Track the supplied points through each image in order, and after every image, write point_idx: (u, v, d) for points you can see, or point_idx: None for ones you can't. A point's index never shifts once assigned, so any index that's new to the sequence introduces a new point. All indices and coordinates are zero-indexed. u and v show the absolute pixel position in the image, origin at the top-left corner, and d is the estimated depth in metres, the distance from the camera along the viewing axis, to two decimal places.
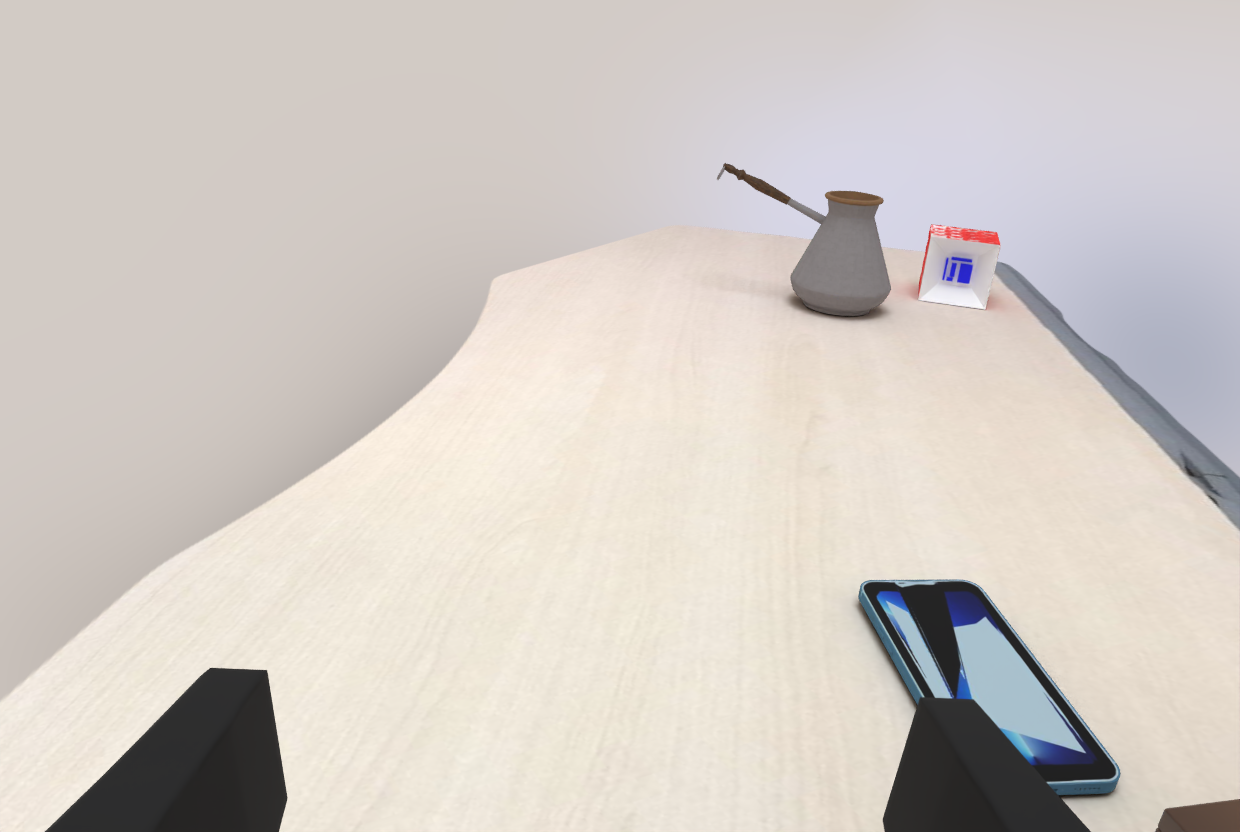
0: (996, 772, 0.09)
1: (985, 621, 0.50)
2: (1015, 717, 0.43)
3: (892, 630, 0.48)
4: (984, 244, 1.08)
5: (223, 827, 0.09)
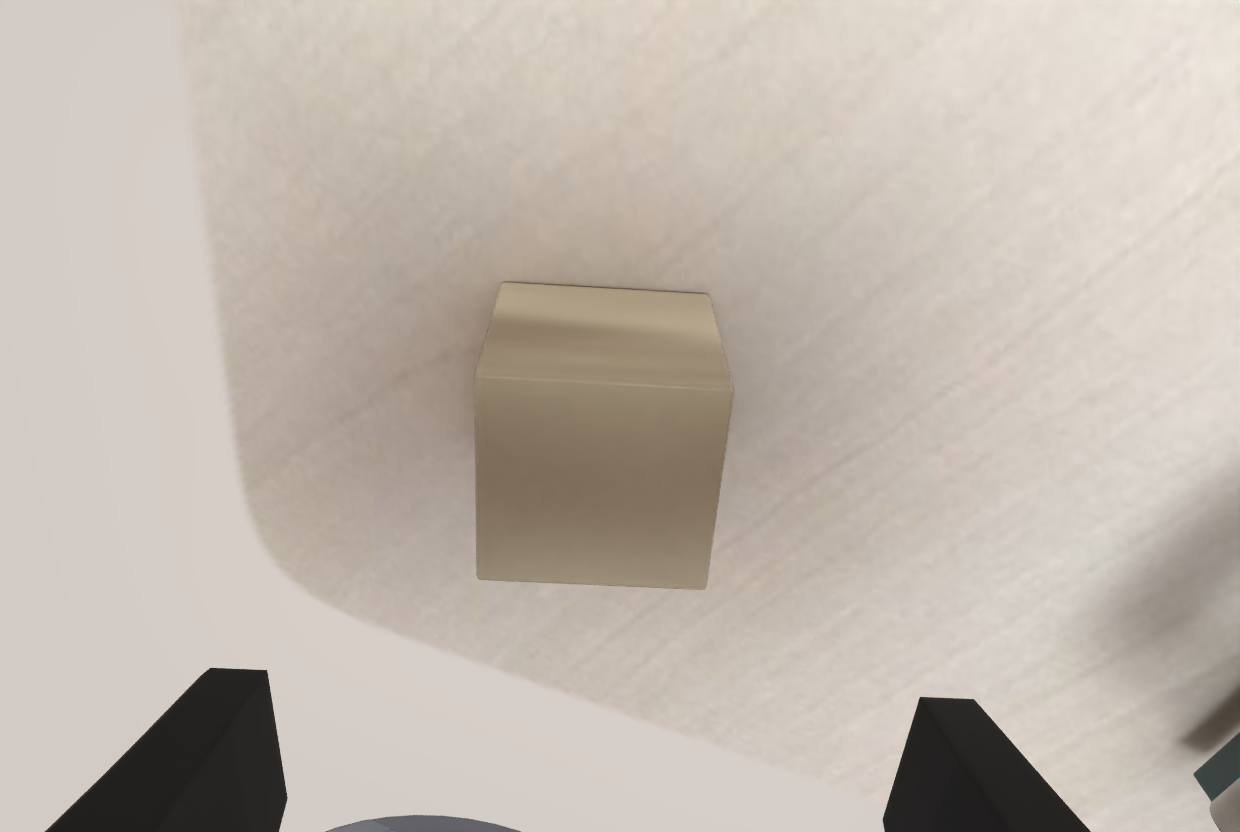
0: (996, 772, 0.09)
1: None
2: None
3: None
4: None
5: (224, 828, 0.09)
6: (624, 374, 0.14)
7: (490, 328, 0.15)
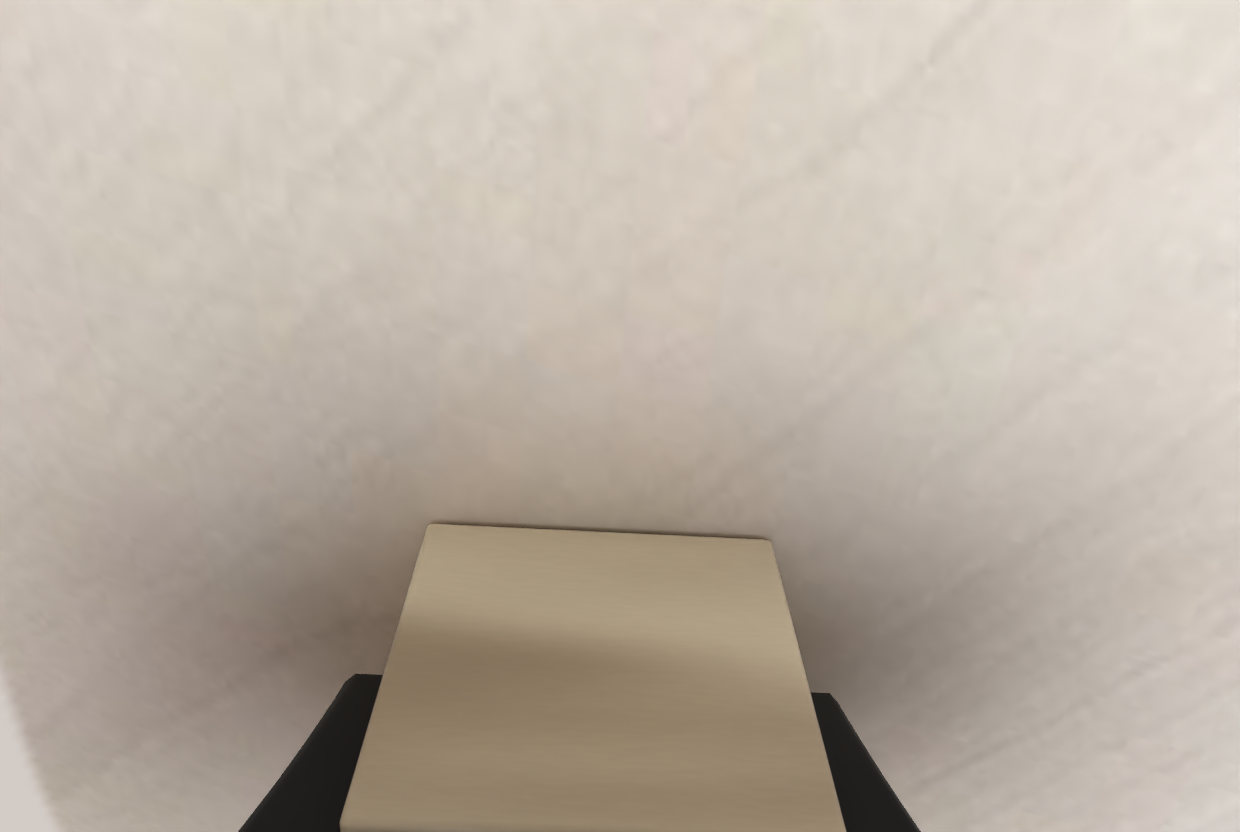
0: (831, 765, 0.09)
1: None
2: None
3: None
4: None
5: None
6: (635, 806, 0.07)
7: (391, 663, 0.09)
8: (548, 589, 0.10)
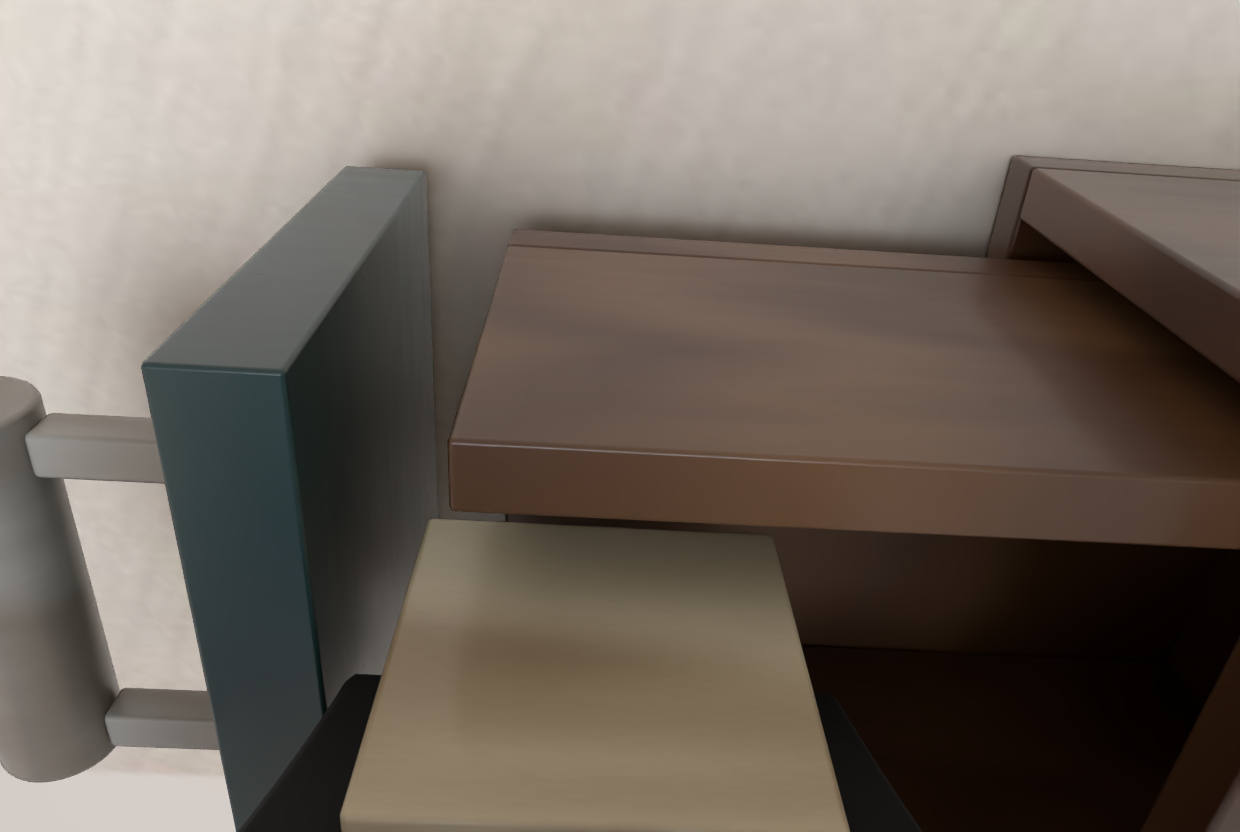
0: (833, 766, 0.09)
1: None
2: None
3: None
4: None
5: None
6: (636, 799, 0.07)
7: (391, 656, 0.09)
8: (549, 583, 0.10)
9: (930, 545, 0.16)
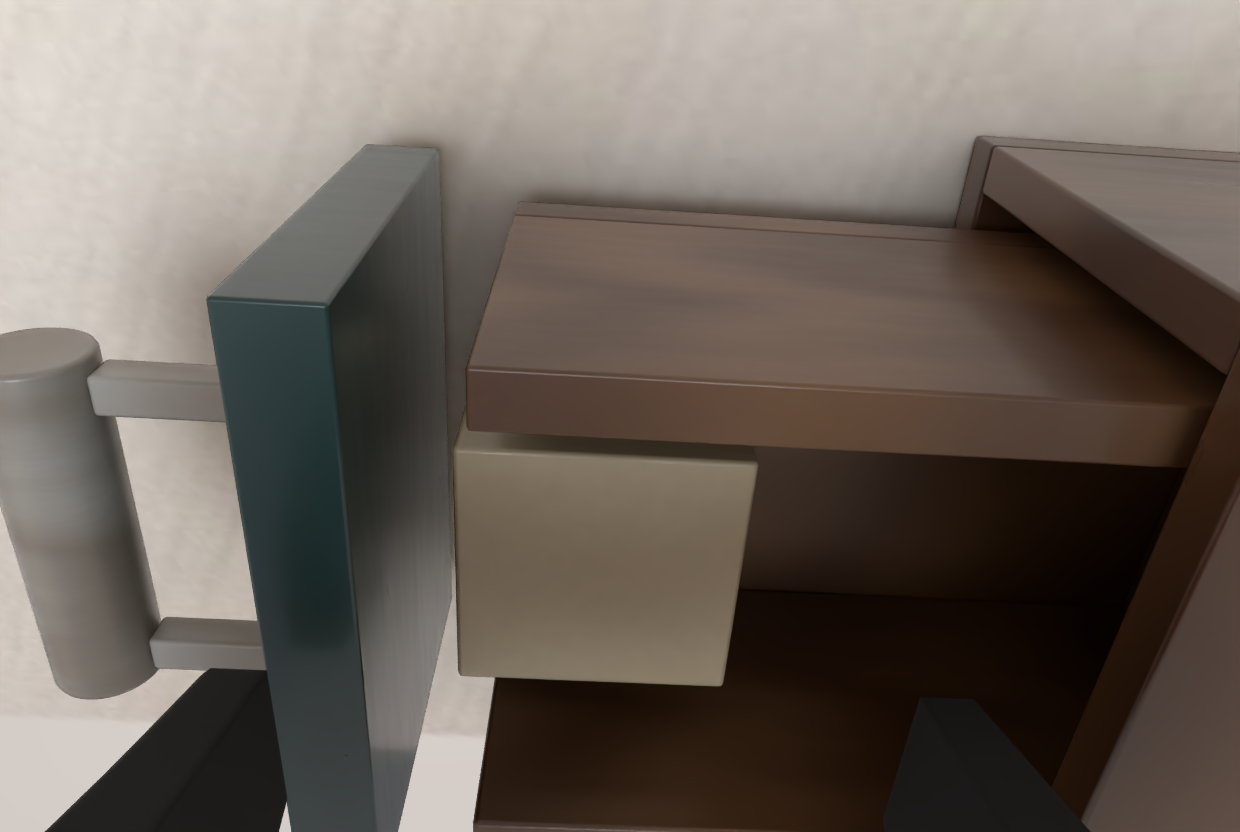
0: (996, 772, 0.09)
1: None
2: None
3: None
4: None
5: (223, 827, 0.09)
6: (629, 447, 0.12)
7: None
8: None
9: (902, 496, 0.17)
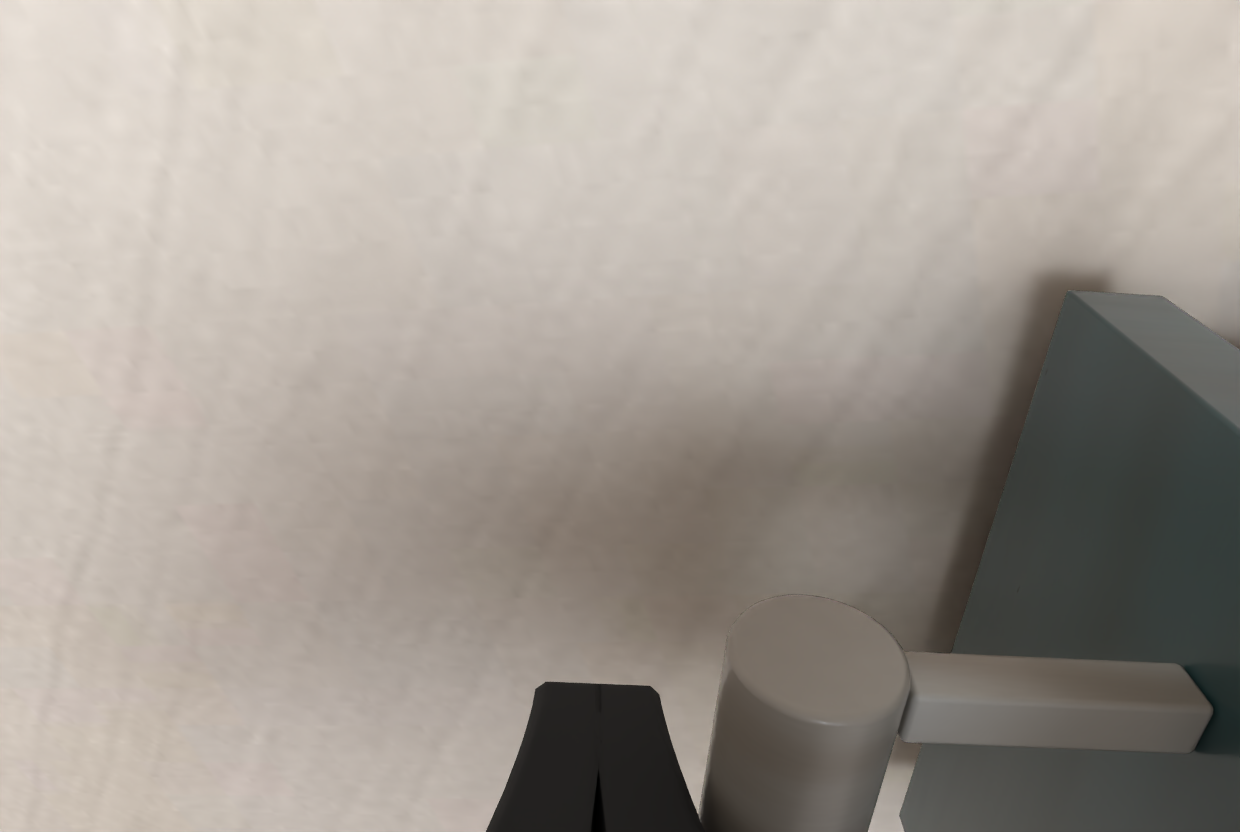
0: (625, 758, 0.09)
1: None
2: None
3: None
4: None
5: None
6: None
7: None
8: None
9: None
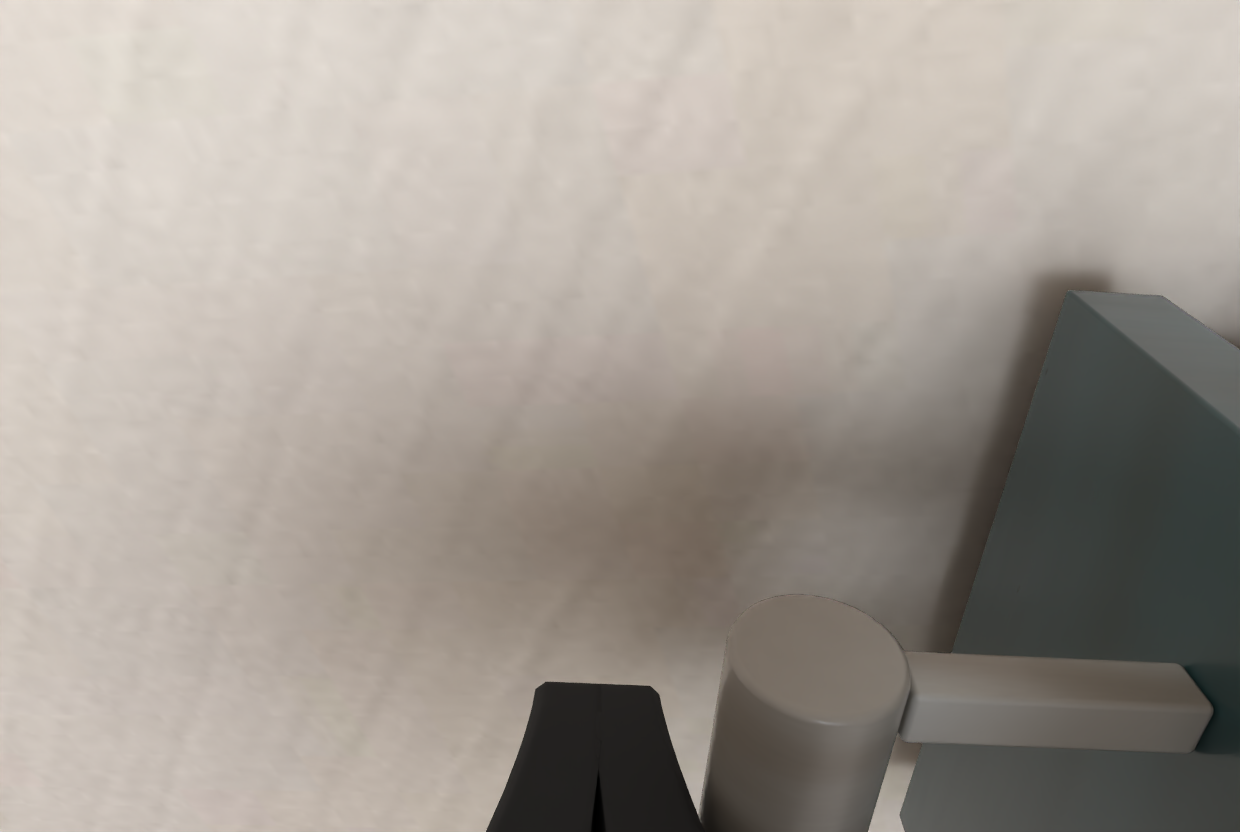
0: (625, 758, 0.09)
1: None
2: None
3: None
4: None
5: None
6: None
7: None
8: None
9: None
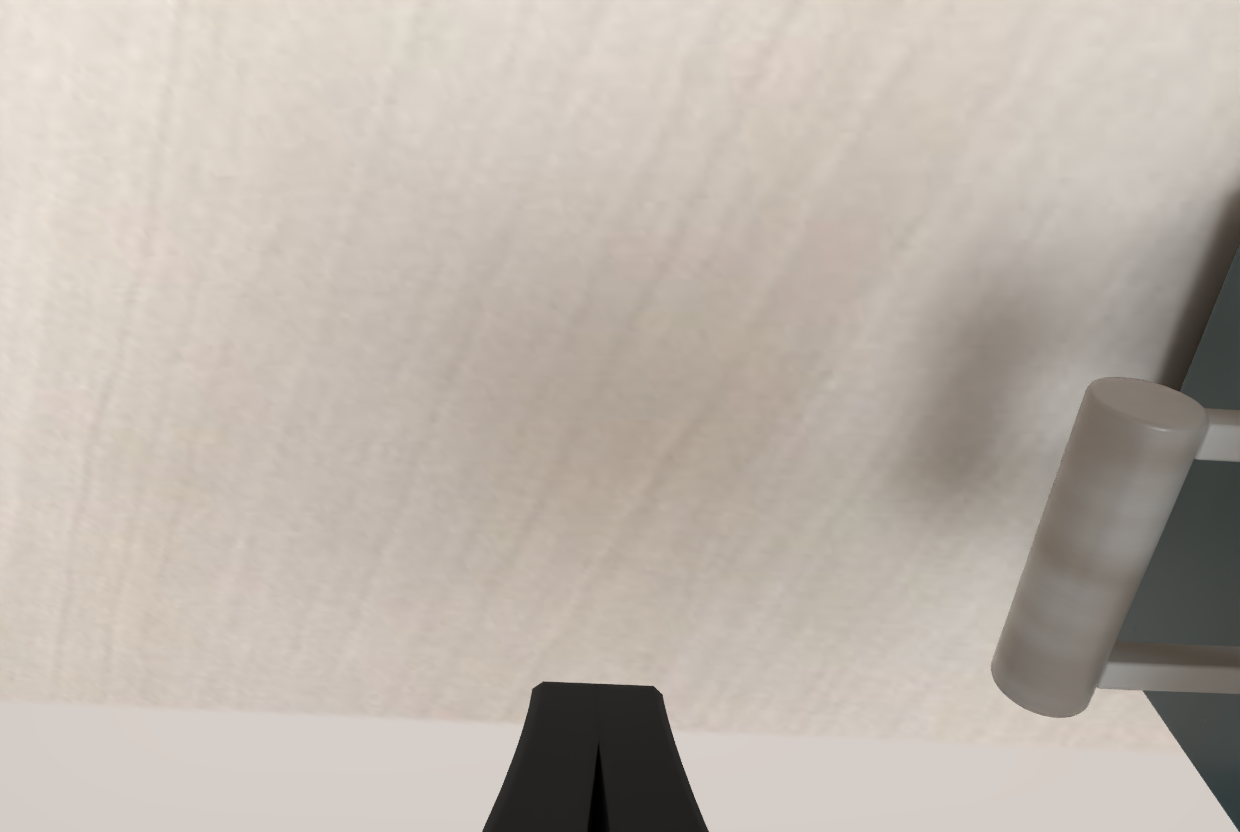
0: (629, 758, 0.09)
1: None
2: None
3: None
4: None
5: None
6: None
7: None
8: None
9: None
